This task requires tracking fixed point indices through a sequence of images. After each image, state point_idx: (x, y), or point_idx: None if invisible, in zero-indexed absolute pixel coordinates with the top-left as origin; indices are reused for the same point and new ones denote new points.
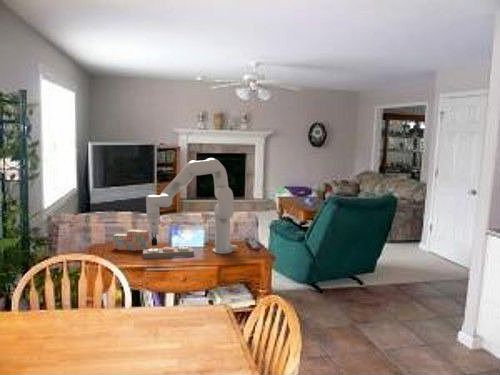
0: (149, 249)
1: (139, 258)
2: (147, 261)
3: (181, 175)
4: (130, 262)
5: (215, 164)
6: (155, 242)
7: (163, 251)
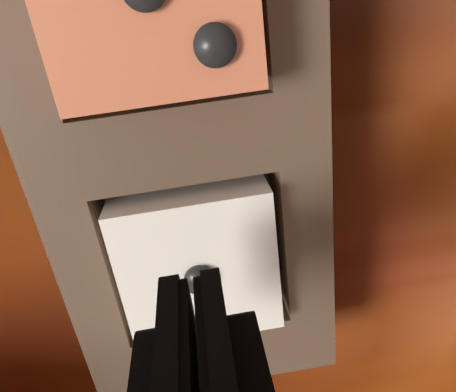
0: None
1: None
2: (451, 249)
3: None
4: (440, 388)
5: None
6: (260, 343)
7: None
